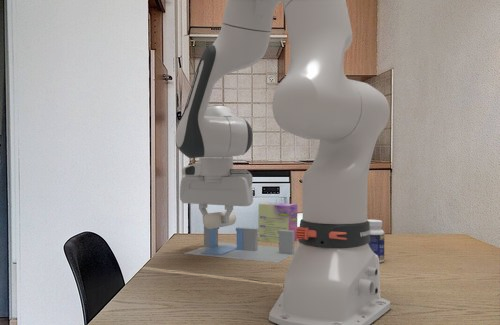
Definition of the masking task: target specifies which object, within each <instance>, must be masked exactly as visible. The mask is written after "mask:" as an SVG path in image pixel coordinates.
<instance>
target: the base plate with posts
mask: <svg viewBox="0 0 500 325" xmlns="http://www.w3.org/2000/svg"><path fill="white" fill-rule="evenodd" d="M219 229H220V227H219V228H213V229H208V228H206V227H205V226H204V225H203V246H201V247H198V248H195V249H192V250H189V251H186V252H183V255H192V256H193V255H194V256H204V257H215V258H223V259H234V260H242V261H243V260H245V261H254V262H264V263H273V264H274V263H275V264H278V263H280V262H282V261H283V260H284V261H285V259H288V258H289V257H291V256H294V254H295V250H296V249H297V248H295V242H294V231H289V230H278V231H277V234H279V243H278V246H268V245H267V246H266V245H259V243H258V241H259V240H258V232H259V228H256V227H244V226H243V227H241V226H240V227H239V226H238V227H235V231H236V242H235V243H233V242H220V241H219Z"/></svg>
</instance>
